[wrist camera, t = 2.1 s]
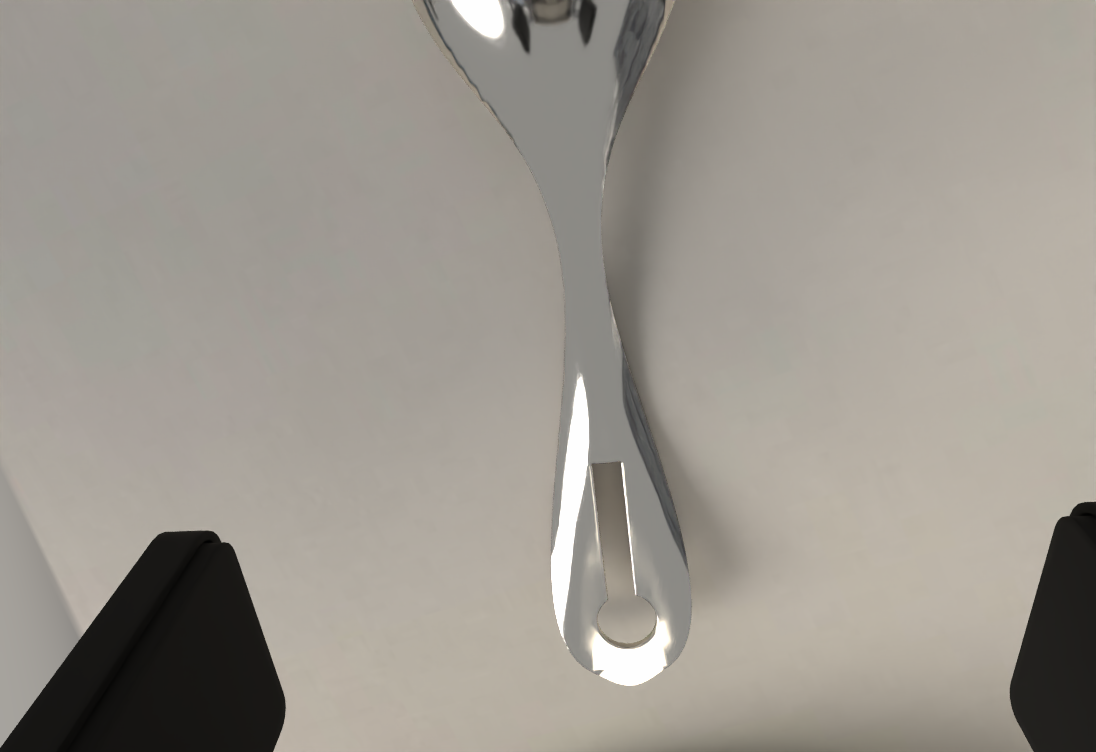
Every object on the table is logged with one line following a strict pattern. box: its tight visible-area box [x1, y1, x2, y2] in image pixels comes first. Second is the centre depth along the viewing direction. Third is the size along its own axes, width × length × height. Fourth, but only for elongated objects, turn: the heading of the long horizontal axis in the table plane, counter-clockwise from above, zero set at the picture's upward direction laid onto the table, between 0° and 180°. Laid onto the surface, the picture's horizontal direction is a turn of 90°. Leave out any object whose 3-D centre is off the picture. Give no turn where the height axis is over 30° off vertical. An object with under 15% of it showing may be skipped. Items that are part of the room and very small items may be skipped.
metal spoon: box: [412, 0, 692, 685], centre depth 16 cm, size 20×4×5 cm
